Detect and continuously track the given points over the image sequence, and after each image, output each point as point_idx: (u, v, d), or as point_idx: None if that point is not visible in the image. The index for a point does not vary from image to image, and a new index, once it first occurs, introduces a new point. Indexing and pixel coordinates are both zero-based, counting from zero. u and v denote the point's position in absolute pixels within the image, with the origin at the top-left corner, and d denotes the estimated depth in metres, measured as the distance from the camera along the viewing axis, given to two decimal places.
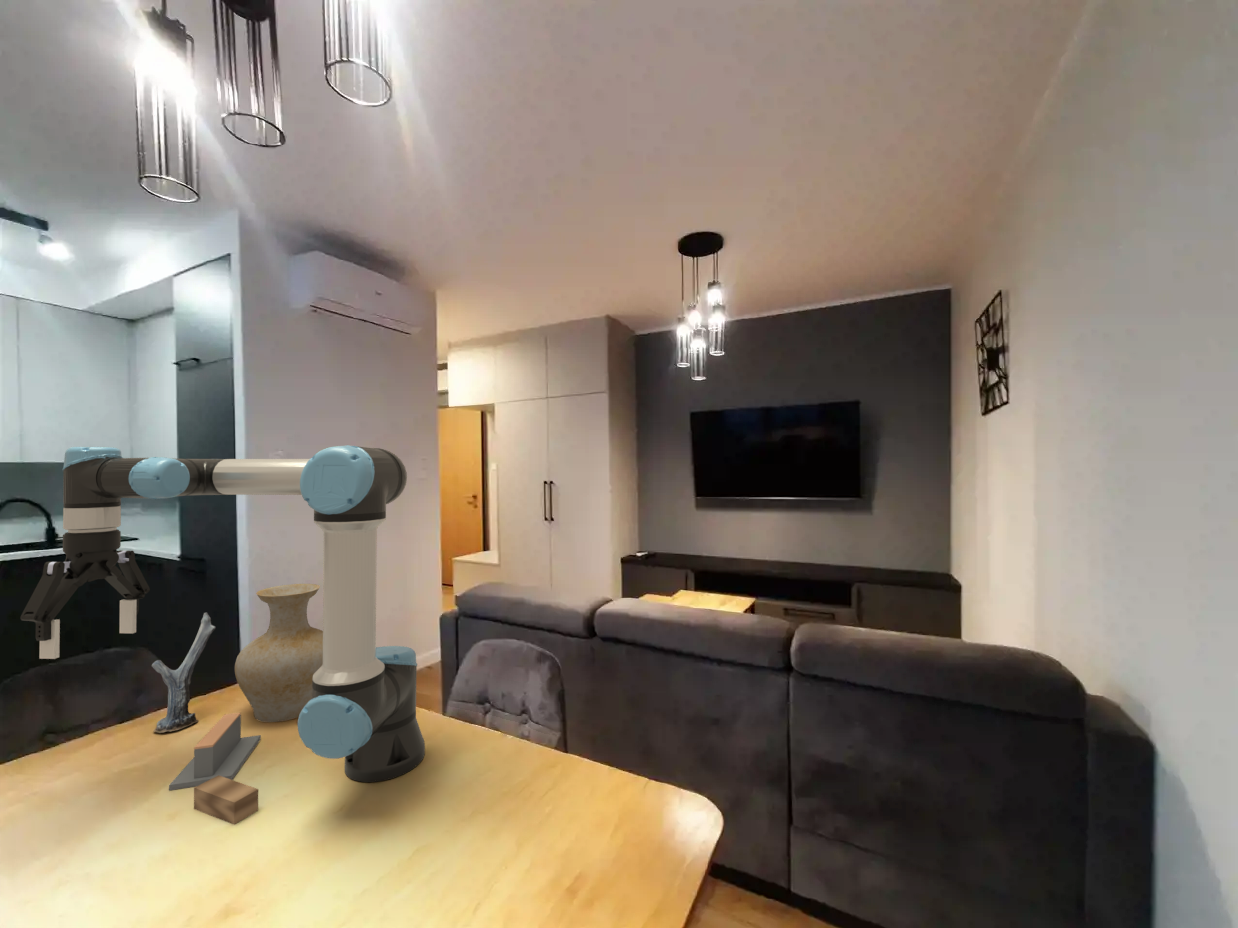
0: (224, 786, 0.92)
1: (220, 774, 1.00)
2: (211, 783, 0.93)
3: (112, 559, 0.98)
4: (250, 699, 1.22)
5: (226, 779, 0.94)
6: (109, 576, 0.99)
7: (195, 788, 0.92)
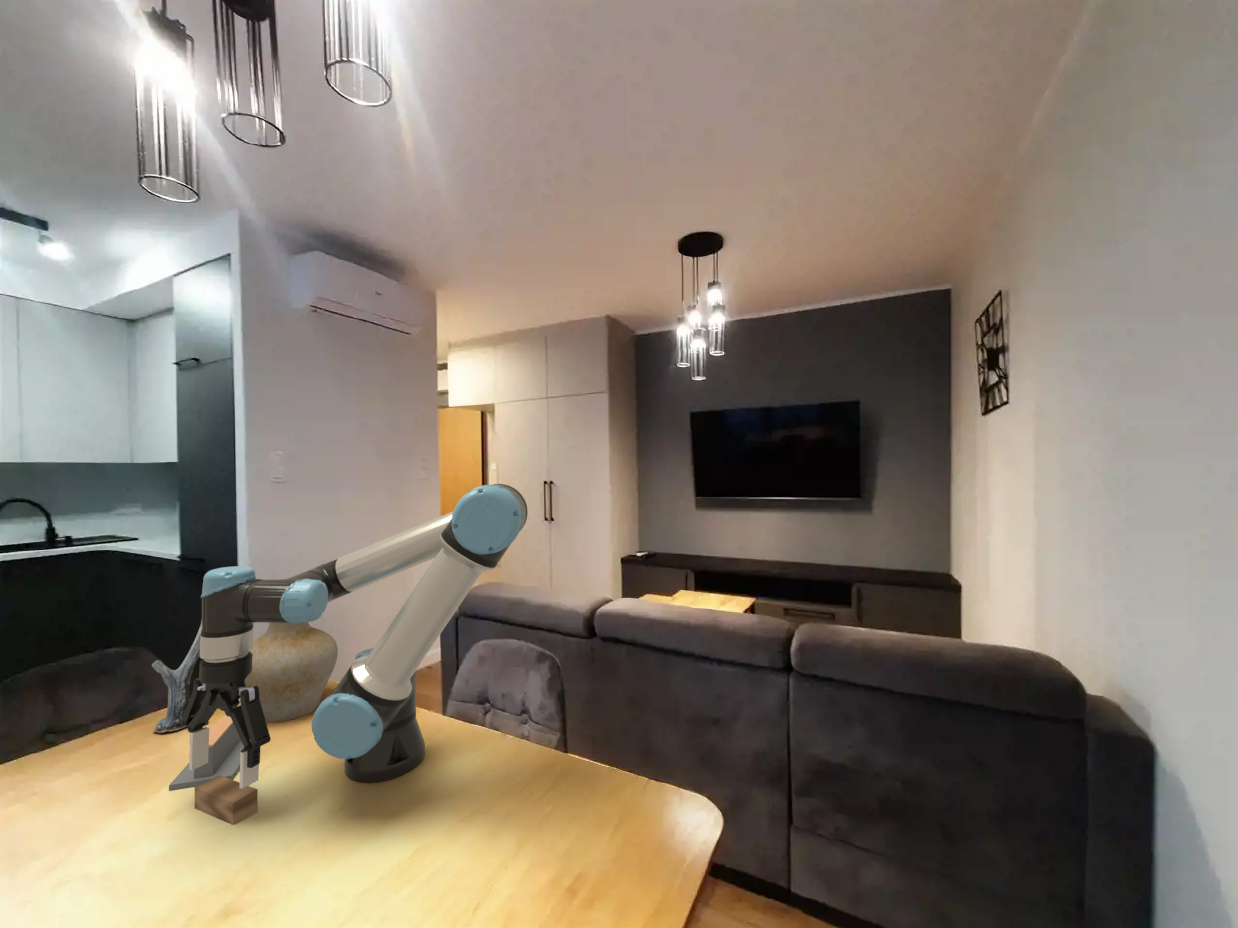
0: (224, 786, 0.92)
1: (220, 774, 1.00)
2: (211, 783, 0.93)
3: (228, 693, 0.90)
4: None
5: (226, 779, 0.94)
6: None
7: (196, 788, 0.92)
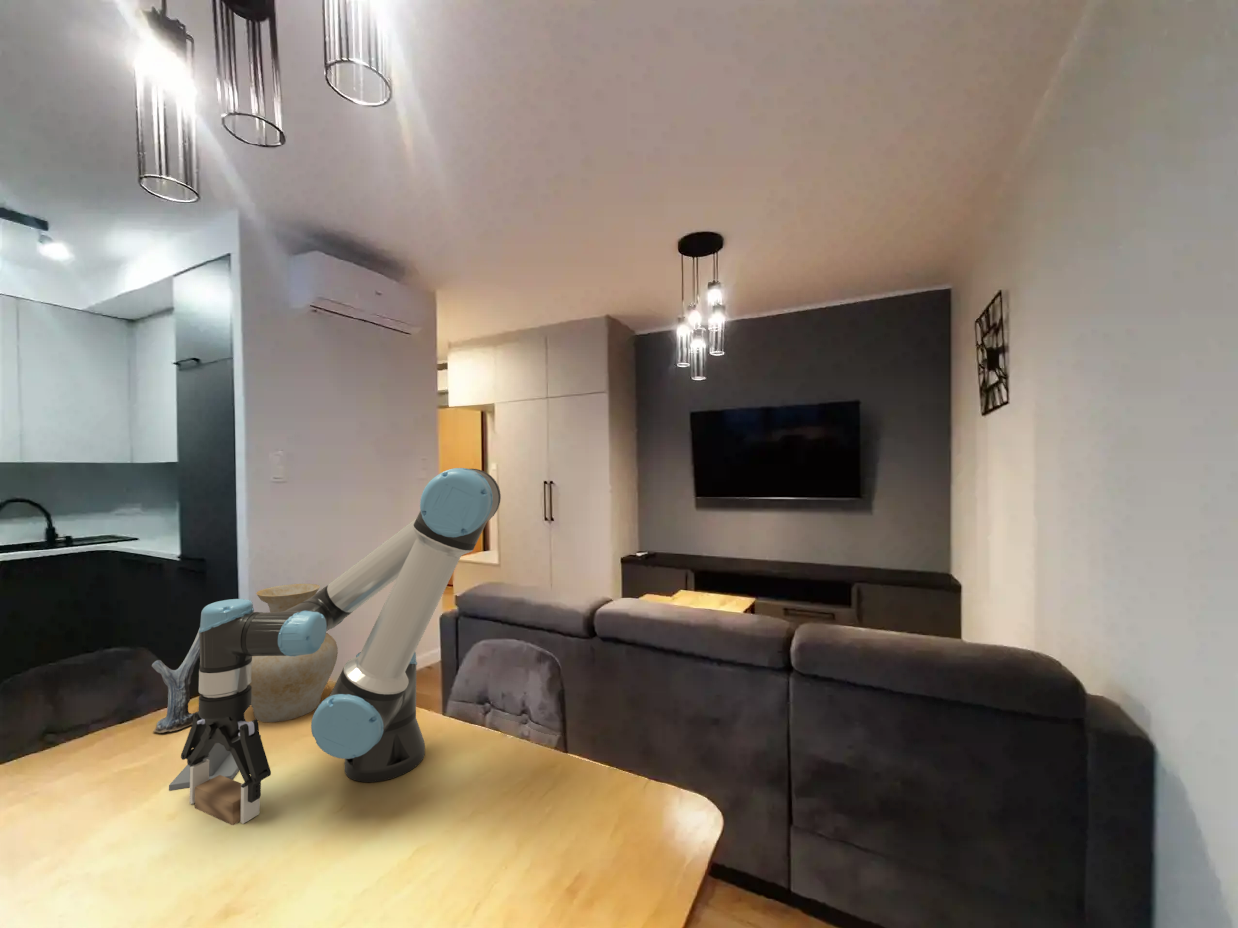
0: (224, 786, 0.92)
1: (220, 774, 1.00)
2: (211, 783, 0.93)
3: (228, 728, 0.90)
4: None
5: (227, 779, 0.94)
6: None
7: (196, 787, 0.92)
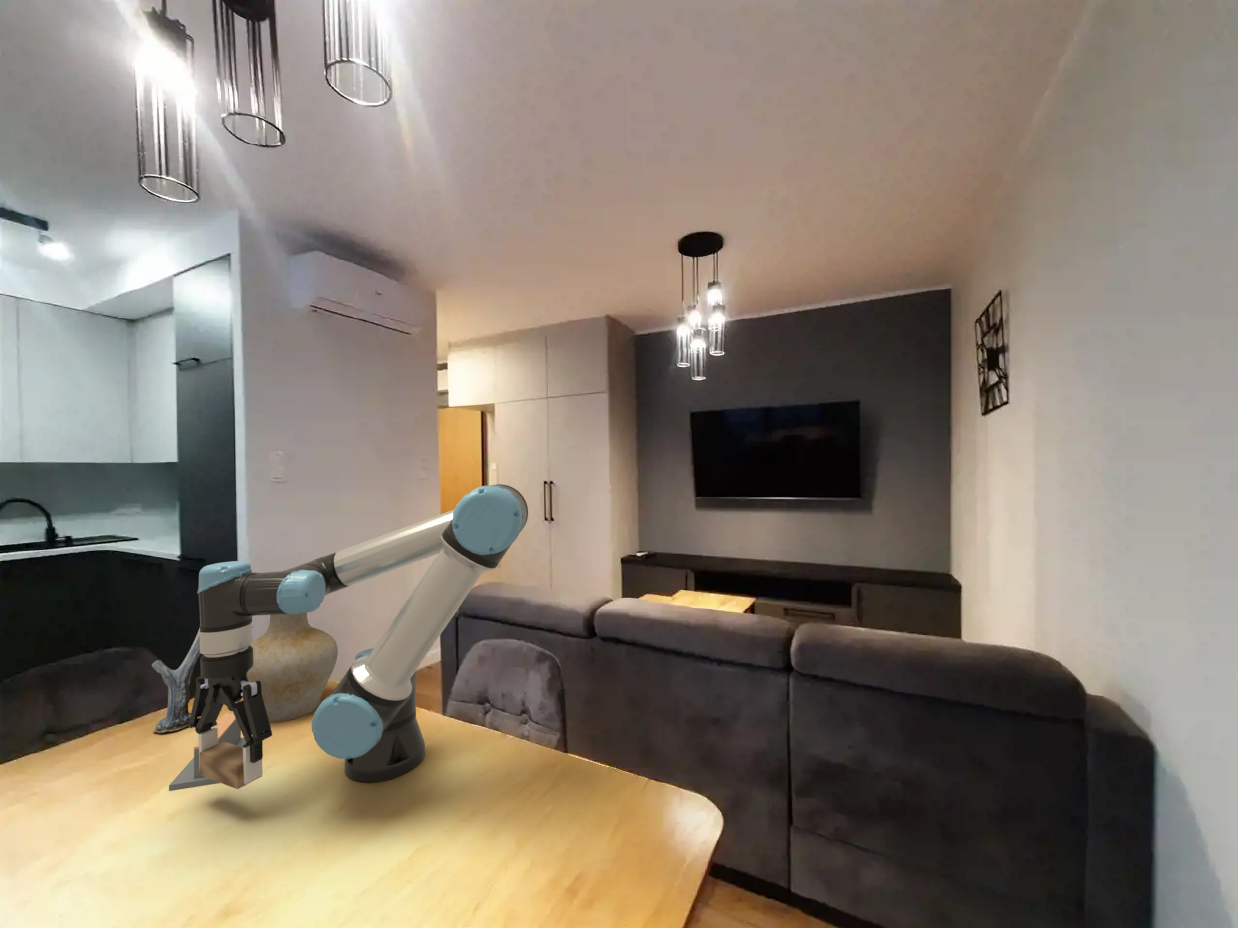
0: (228, 751, 0.93)
1: None
2: (216, 749, 0.93)
3: (231, 687, 0.90)
4: None
5: (231, 745, 0.95)
6: None
7: (200, 753, 0.92)
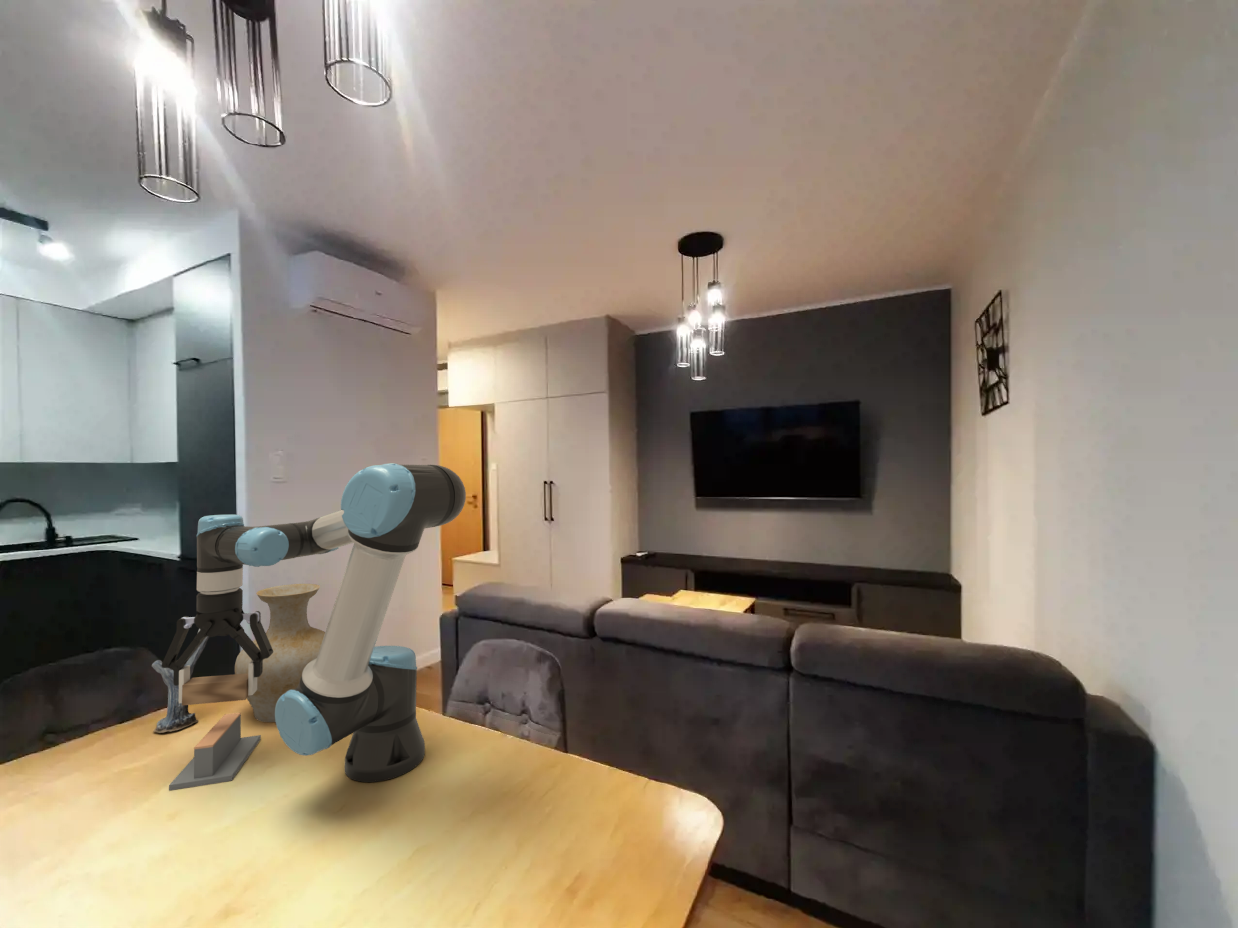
0: (214, 678, 1.06)
1: (220, 774, 1.00)
2: (196, 680, 1.05)
3: (232, 618, 1.06)
4: (250, 699, 1.22)
5: (207, 677, 1.07)
6: None
7: (184, 685, 1.03)
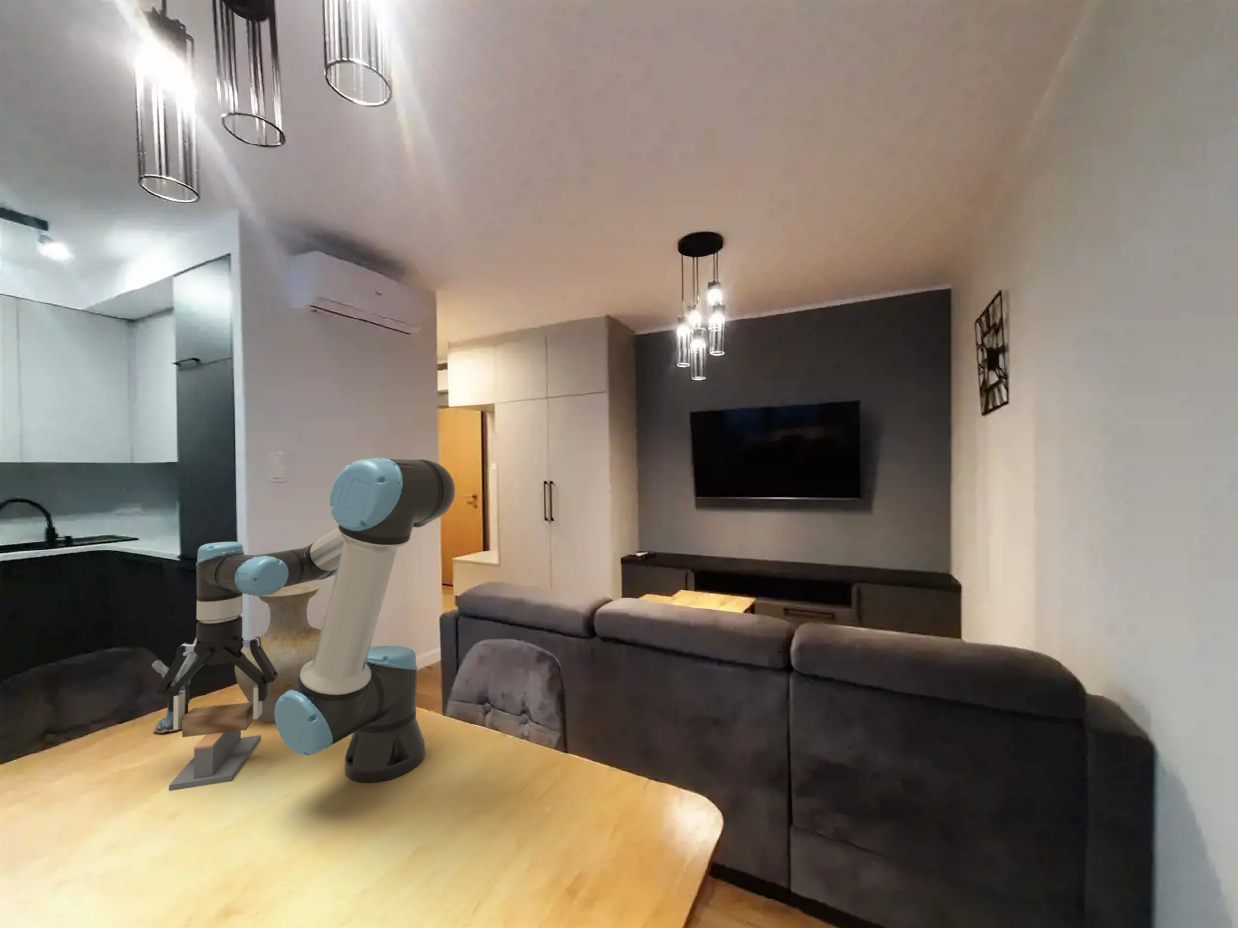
0: (214, 709, 1.06)
1: (220, 774, 1.00)
2: (196, 711, 1.05)
3: (232, 647, 1.06)
4: (250, 699, 1.22)
5: (207, 707, 1.07)
6: None
7: (184, 717, 1.03)
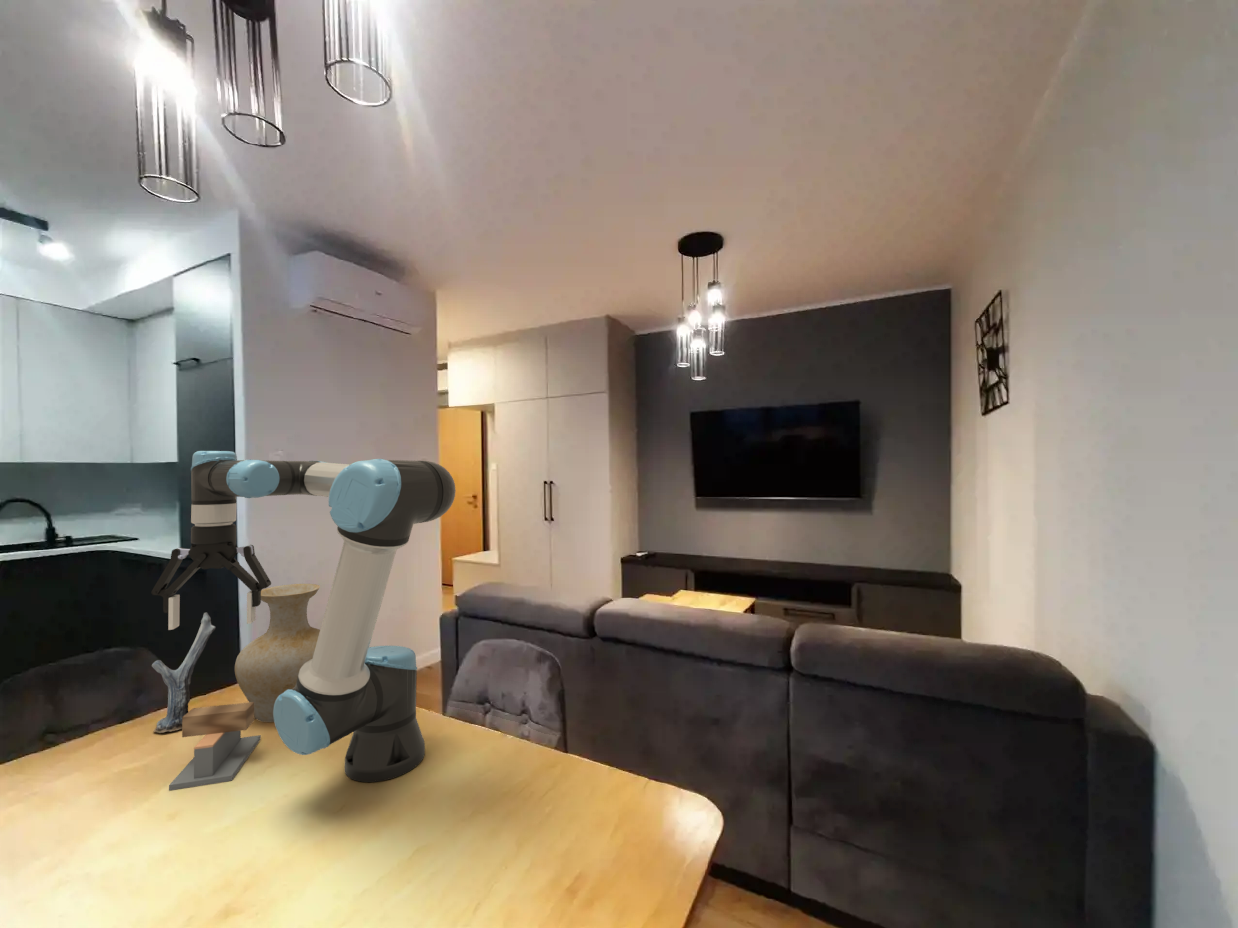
0: (214, 709, 1.06)
1: (220, 774, 1.00)
2: (196, 711, 1.05)
3: (226, 552, 1.08)
4: (250, 699, 1.22)
5: (207, 707, 1.07)
6: None
7: (184, 717, 1.03)
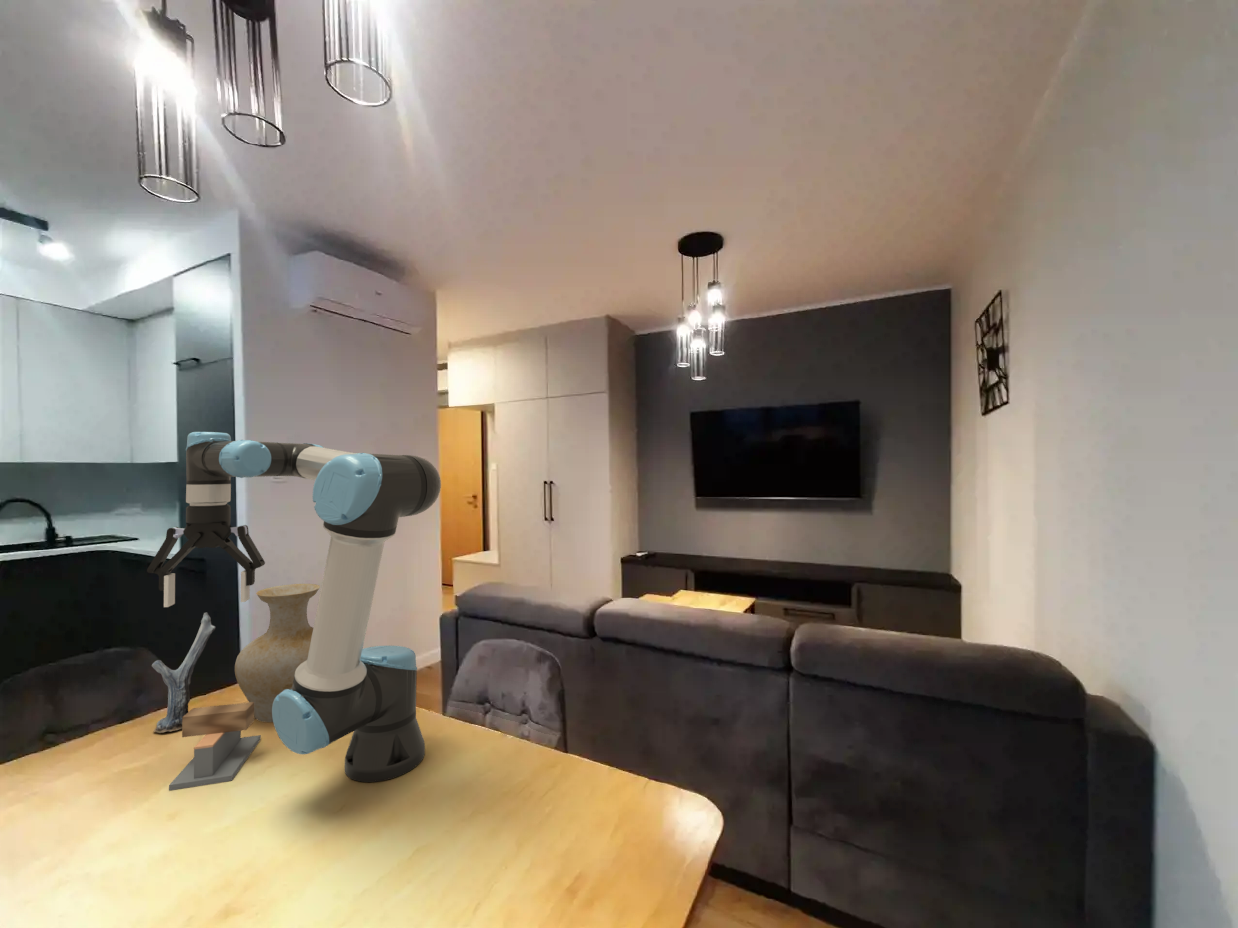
0: (214, 709, 1.06)
1: (220, 774, 1.00)
2: (196, 711, 1.05)
3: (220, 531, 1.11)
4: (250, 699, 1.22)
5: (207, 707, 1.07)
6: None
7: (184, 717, 1.03)
